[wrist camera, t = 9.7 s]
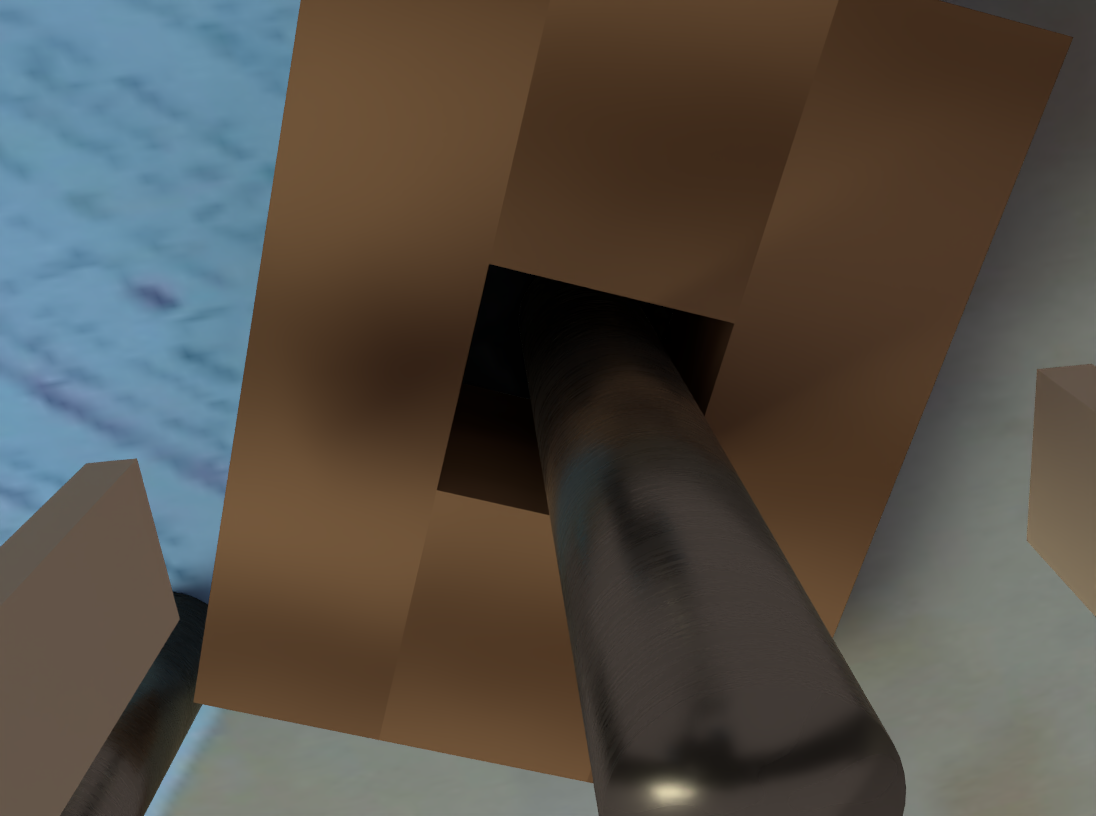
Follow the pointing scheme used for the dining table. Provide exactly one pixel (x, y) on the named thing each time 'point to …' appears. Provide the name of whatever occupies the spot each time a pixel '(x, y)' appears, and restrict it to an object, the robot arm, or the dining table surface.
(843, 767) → the long pin
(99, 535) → the robot arm
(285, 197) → the hole block
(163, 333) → the dining table surface
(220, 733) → the dining table surface
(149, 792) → the short pin
